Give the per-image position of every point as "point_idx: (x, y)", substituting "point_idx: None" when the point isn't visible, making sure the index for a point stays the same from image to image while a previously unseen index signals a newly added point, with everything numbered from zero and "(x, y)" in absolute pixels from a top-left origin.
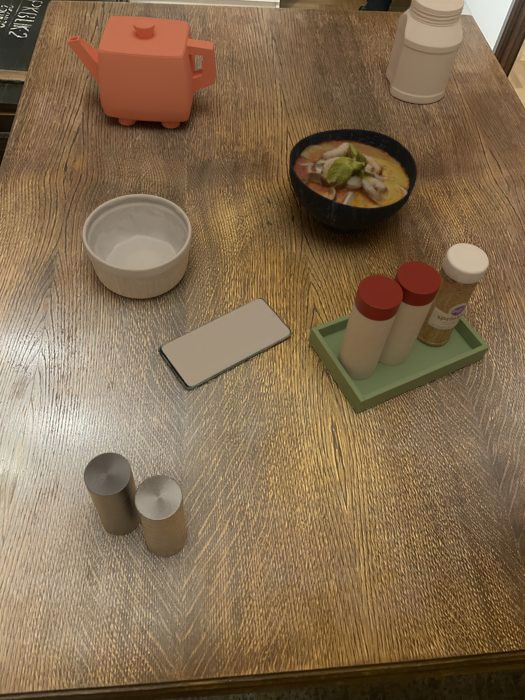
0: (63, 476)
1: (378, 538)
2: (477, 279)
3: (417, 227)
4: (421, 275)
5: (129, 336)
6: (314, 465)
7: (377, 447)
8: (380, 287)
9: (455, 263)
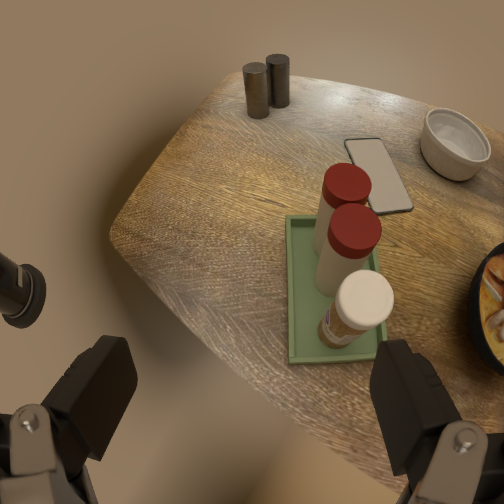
0: (310, 91)
1: (195, 195)
2: (336, 301)
3: (459, 395)
4: (358, 228)
5: (393, 133)
6: (260, 182)
7: (251, 225)
8: (353, 182)
9: (362, 272)
